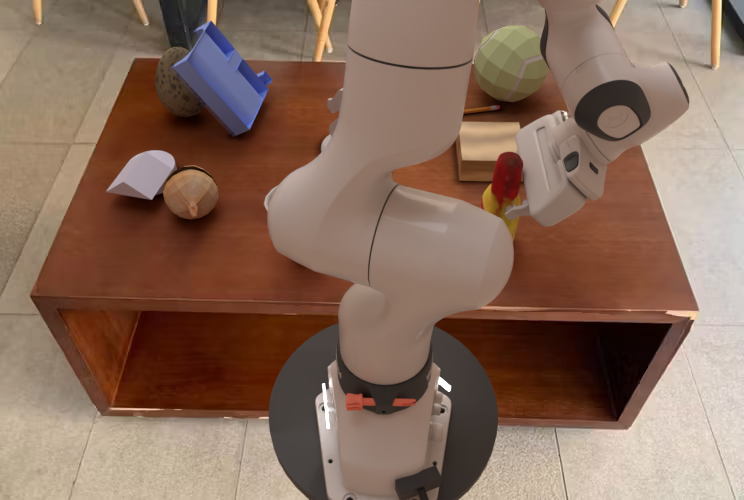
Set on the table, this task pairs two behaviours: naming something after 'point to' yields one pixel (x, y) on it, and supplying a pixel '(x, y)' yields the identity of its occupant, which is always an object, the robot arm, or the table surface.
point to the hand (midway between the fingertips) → (503, 194)
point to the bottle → (504, 188)
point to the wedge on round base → (144, 175)
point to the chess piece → (335, 106)
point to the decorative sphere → (510, 63)
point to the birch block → (483, 148)
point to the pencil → (481, 109)
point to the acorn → (190, 192)
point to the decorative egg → (176, 86)
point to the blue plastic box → (223, 79)
